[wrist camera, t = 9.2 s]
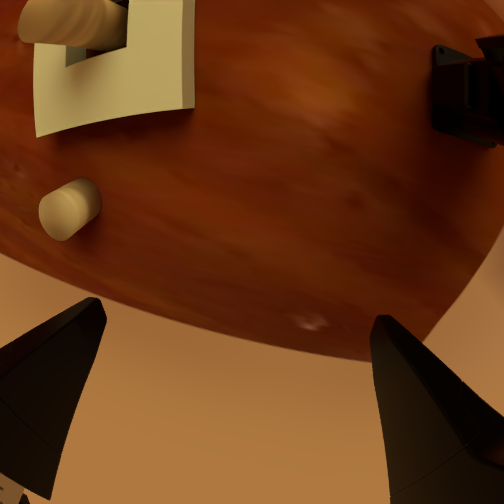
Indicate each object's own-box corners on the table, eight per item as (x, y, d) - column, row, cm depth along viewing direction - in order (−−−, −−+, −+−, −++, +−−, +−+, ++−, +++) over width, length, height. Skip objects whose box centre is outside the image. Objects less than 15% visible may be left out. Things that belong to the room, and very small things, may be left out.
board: (198, -60, 9) (189, -75, 7) (194, 107, 16) (182, 108, 14) (62, -14, 10) (44, -19, 8) (56, 131, 17) (36, 137, 15)
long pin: (136, 45, 14) (61, 26, 7) (94, 57, 14) (15, 52, 7) (138, 3, 12) (70, -30, 5) (96, 17, 13) (22, -2, 6)
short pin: (97, 175, 19) (66, 192, 15) (105, 218, 21) (77, 241, 17) (65, 179, 19) (34, 196, 16) (73, 219, 21) (45, 240, 17)
